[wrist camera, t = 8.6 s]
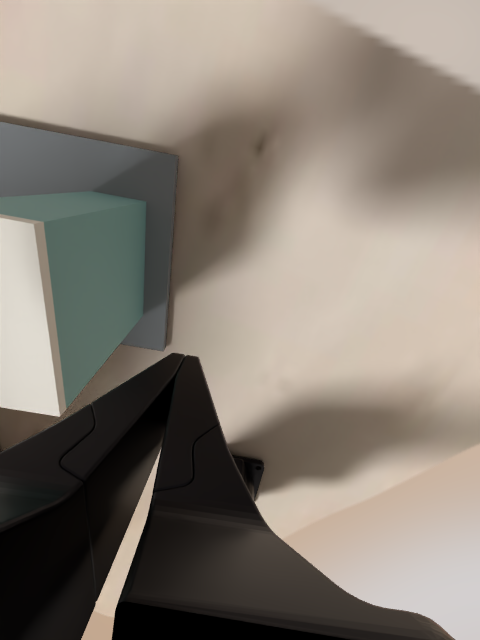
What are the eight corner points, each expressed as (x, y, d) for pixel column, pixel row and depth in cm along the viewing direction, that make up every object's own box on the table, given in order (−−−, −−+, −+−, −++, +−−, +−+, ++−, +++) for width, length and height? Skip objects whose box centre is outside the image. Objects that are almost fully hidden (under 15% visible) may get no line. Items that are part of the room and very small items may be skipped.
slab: (143, 315, 19) (59, 416, 11) (97, 307, 19) (-22, 403, 11) (146, 201, 16) (33, 223, 8) (91, 191, 16) (-82, 202, 8)
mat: (165, 346, 21) (163, 351, 20) (-35, 313, 20) (-43, 316, 20) (178, 156, 15) (175, 155, 15) (-93, 104, 15) (-106, 101, 14)
